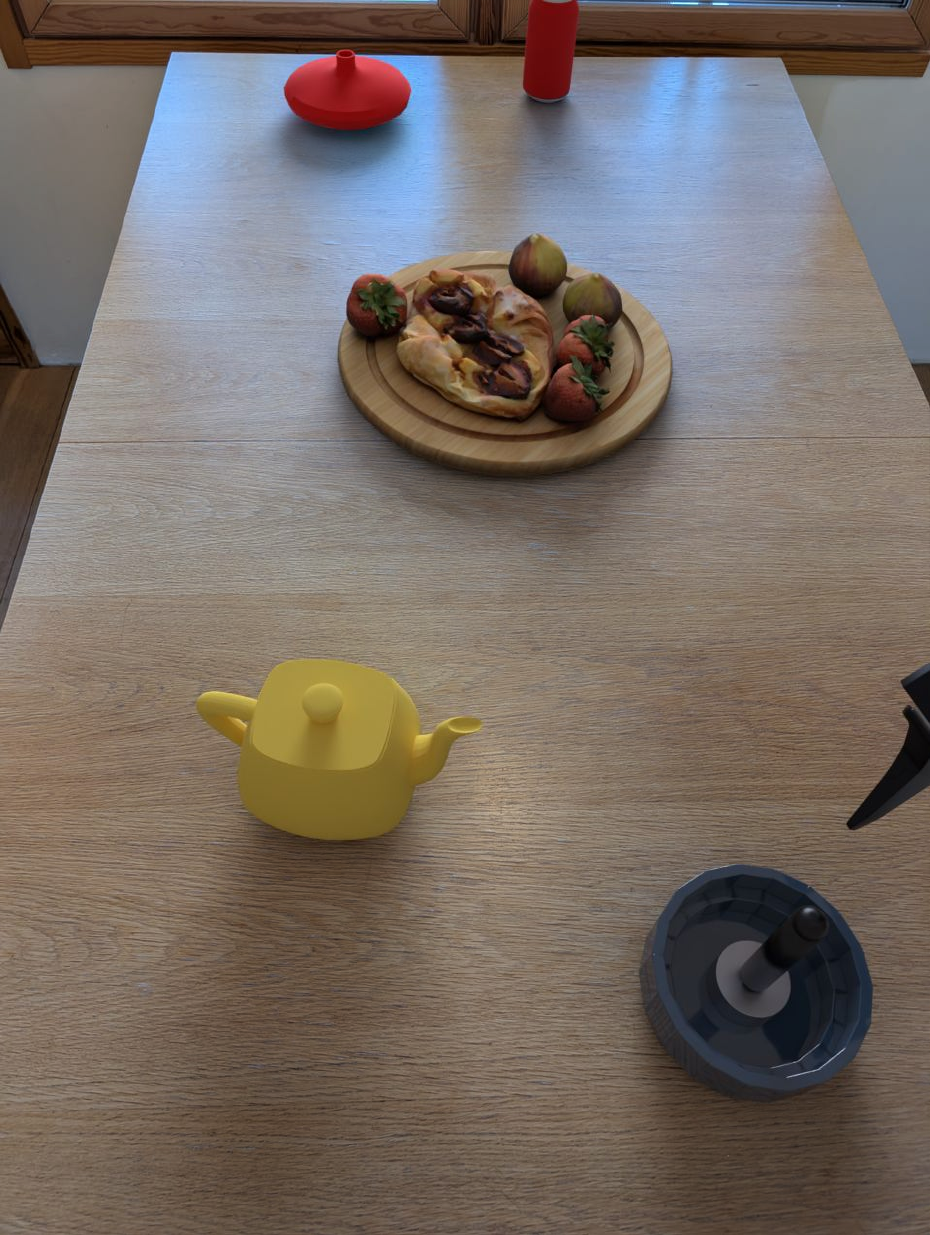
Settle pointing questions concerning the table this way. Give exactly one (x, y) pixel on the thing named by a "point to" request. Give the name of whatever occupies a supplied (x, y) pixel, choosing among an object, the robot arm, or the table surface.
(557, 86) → the beverage can
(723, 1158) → the table surface
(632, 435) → the wooden plate
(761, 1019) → the coffee tamper
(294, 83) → the red vase
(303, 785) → the teapot
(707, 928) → the bowl
